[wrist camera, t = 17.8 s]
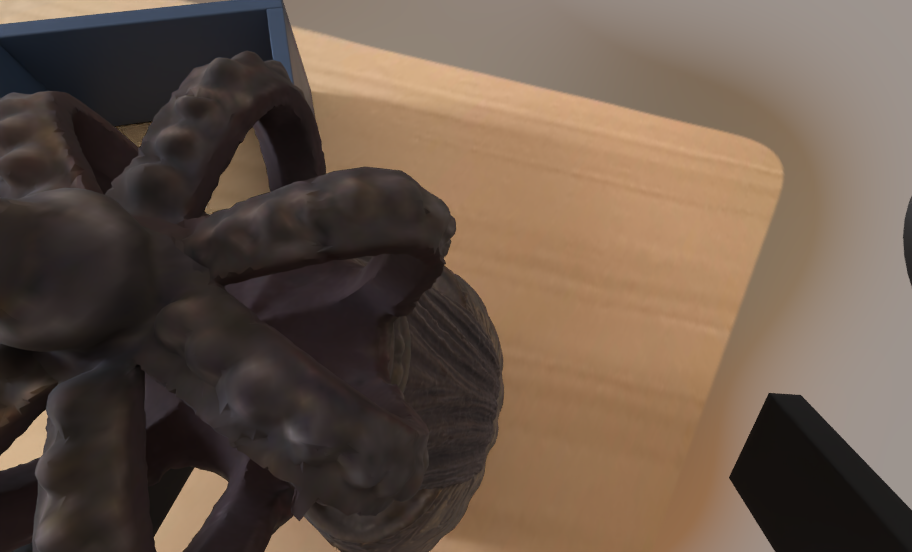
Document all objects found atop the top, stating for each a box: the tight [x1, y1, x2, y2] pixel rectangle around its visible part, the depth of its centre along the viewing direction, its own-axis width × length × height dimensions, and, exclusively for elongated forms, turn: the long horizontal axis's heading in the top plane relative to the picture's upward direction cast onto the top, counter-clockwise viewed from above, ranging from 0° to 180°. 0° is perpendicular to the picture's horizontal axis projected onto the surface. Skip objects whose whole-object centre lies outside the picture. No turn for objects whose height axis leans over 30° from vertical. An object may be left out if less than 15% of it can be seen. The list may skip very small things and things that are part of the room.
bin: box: [0, 0, 315, 126], centre depth 25 cm, size 13×14×7 cm
